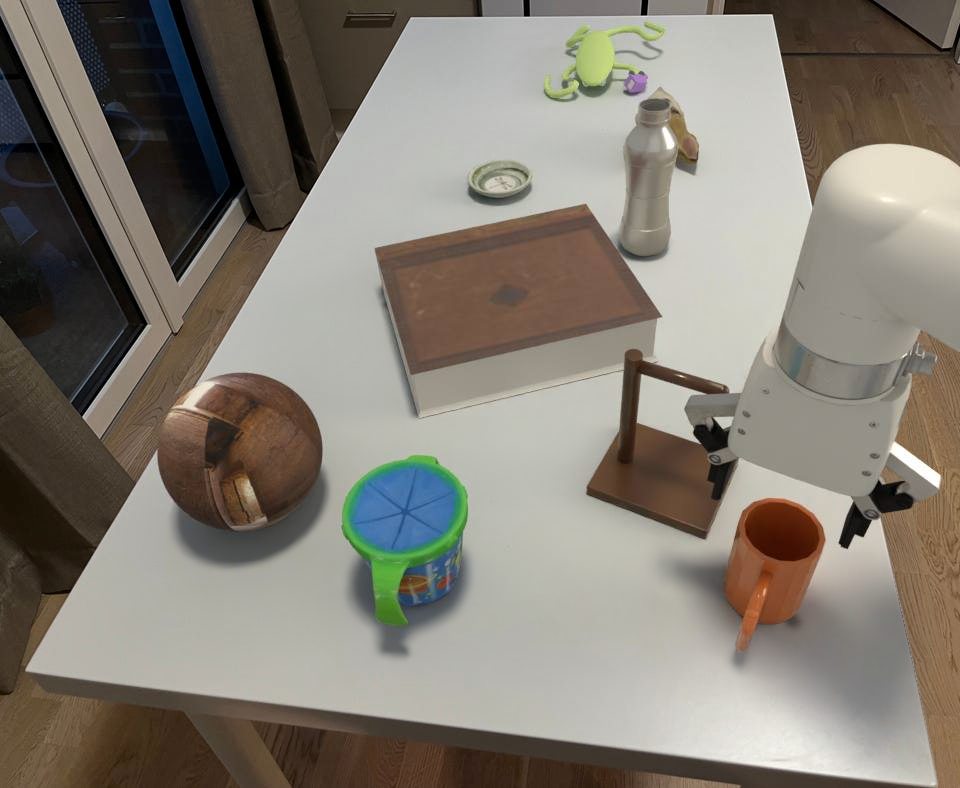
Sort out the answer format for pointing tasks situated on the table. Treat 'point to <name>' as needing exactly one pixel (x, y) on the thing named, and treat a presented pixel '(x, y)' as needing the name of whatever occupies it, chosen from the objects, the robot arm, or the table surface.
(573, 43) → the figurine
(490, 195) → the saucer
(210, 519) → the wooden sphere
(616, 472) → the mug stand
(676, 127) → the ceramic sculpture
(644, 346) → the book
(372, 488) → the snack cup
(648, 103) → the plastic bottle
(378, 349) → the table surface
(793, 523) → the mug
